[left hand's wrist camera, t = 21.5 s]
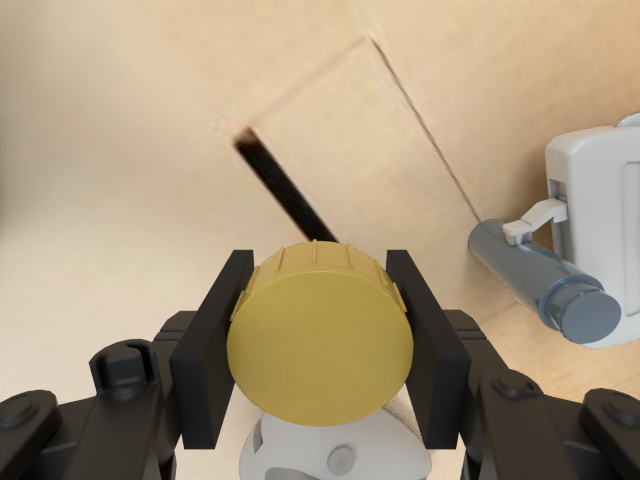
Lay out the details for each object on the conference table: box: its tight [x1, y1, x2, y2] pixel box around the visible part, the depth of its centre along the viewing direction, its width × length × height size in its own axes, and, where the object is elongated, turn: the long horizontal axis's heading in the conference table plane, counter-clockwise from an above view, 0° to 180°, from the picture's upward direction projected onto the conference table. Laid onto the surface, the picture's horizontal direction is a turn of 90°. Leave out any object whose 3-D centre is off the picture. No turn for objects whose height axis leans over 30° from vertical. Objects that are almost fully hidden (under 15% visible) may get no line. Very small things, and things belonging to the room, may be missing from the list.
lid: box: [227, 240, 414, 427], centre depth 11 cm, size 5×5×2 cm
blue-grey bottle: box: [469, 219, 621, 344], centre depth 31 cm, size 5×5×15 cm
